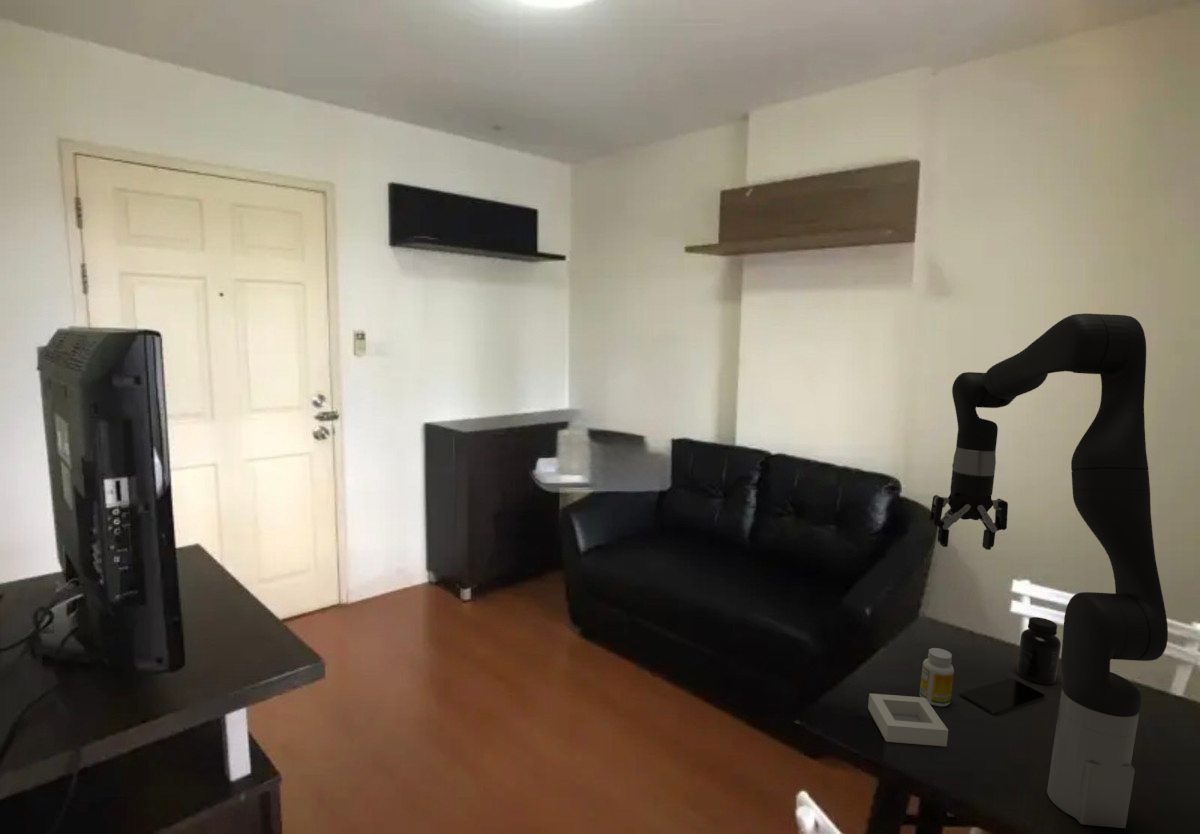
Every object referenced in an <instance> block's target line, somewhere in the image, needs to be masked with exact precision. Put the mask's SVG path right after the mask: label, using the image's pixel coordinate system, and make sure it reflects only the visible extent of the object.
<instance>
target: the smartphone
mask: <svg viewBox="0 0 1200 834" xmlns="http://www.w3.org/2000/svg"><path fill="white" fill-rule="evenodd" d="M958 694H959V697H960V698H961V699H963V700H965V701H967V702H968V703H970V704H971V705H974V706H975V707H976V708H979V709H981V710H982V711H984V712H986V713H988V714H989V715H992V716H1001V715H1003V714H1007V713H1009V712H1013V711H1016V710H1019V709H1022V708H1025V707H1027V706H1030V705H1033V704H1036V703H1039V702H1042V701H1045V700H1046V699H1047V696H1046V694H1044V693H1043V692H1040V691H1039V690H1037V689H1035V688H1033V687H1031V686H1029V685H1026V684H1025V683H1023V682H1020V681H1018V680H1017V679H1015V678H1012V677H1005V678H1002V679H1000V680H996V681H992V682H989V683H986V684H982V685H980V686H976V687H973V688H970V689H967V690H964V691H961V692H959V693H958Z"/></svg>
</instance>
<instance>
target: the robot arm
mask: <svg viewBox="0 0 1200 834" xmlns="http://www.w3.org/2000/svg"><path fill="white" fill-rule="evenodd" d="M1146 367H1147V340H1146V335H1145V331H1144V328H1143V325H1142V324H1141V323H1140V322H1139V320H1137V318H1135V317H1133V316H1131V315H1126V314H1109V313H1108V314H1104V313H1103V314H1102V313H1076V314H1071V315H1068V316H1066V317H1064V318H1062V319H1061V320H1059V321H1057V322H1056V323H1055V324H1054V325H1052V326H1051V327H1050V328H1048V329H1047V330H1046V331H1045V332H1043V334H1042V335H1040V336H1039V337H1038V338H1036V339H1035V340H1033V342H1031V343H1030V344H1029V345H1028V346H1027V347H1025V348H1024V349H1023V350H1021V351H1020V352H1018V353H1016V354H1014V355H1013V356H1010V357H1008V358H1006V359H1004V360H1002V361H999V362H997V363H996V364H994V365H992V366H991V367H989V368H988V369H987V371H986V372H974V371H972V372H971V371H968V372H967V371H964V372H962V373H960V374H959V375H958V376H957V377H956V378H955V380H954V381H953V383H952V386H951V387H952V388H951V393H952V400H953V404H954V409H955V414H956V421H957V436H956V446H955V451H954V455H953V461H952V465H951V466H952V467H951V468H952V471H951V479H950V481H951V482H950V489H949V490H950V494H949V496H948V497H943V496H939V495H938V494H934V495H933V497H932V503H931V508H930V515H929V520H928V521H929V523H931V524H932V525H934V526H936V527H937V528H938V531H937V542H938V543H939V545H940V546H941V547H943V548H947V547H948V546H949V536H950V529H949V528H950V527H952V526H953V524H954V523H956V522H958V521H959V520H960V519H961V520H962V521H963V520H964V521H965V520H973V521H979V520H980V522H981V523H982V525H984V527H985V529H983V534H982V535H983V538H982V543H981V544H982V548H983V549H985V550H986V551H990V550H991V549H992V548H994V545H995V540H996V533H997V532H998V531H1001V530H1002V531H1005V530H1007V529H1008V509H1009V503H1008V502H1007V501H1005V500H1004V499H1001V498H996V499H992V496H993V492H994V481H995V471H996V464H997V461H996V459H997V458H996V449H997V442H998V433H999V427H998V425H997V423H996V422H994V421H992V420H989V419H984V418H982V417H980V416H979V414H978V413H977V412H978V411H977V408H982V409H983V408H984V409H985V408H988V409H997V408H998V409H999V408H1003V407H1006V406H1009V405H1010V404H1011V403H1012V402H1013V401H1014V400H1015V399H1016V398H1017V397H1019V396H1021V395H1024V394H1026V393H1030V392H1032V391H1033V390H1036V389H1038V388H1039V387H1040V386H1041V385H1043V383H1044V382H1046V379H1047V377H1048V375H1049V374H1053V373H1061V372H1068V373H1069V372H1071V373H1074V374H1086V375H1087V374H1088V375H1100V380H1101V381H1100V382H1101V393H1100V394H1101V395H1100V404H1099V408H1098V411H1097V412H1096V413H1097V414H1096V415H1095V417H1094V419H1093V420H1092V422H1091V424H1090V426H1088V428H1087V430H1086V431H1085V432H1084V434H1083V435H1082V437H1081V439H1080V440H1079V442H1078V443H1077V445H1076V447H1075V449H1074V451H1073V454H1072V456H1071V457H1072V458H1071V461H1070V462H1071V463H1070V465H1071V466H1070V467H1071V468H1070V469H1071V486H1072V487H1071V488H1072V498H1073V503H1074V505H1075V508H1076V510H1077V512H1078V513H1079V515H1080V517H1081V518H1082V519H1083V521H1084V522H1085V524H1086V525H1087V527H1088V528H1089V529H1090V531H1091V532H1092V533H1093V535H1094V536H1095V537H1096V539H1097V540H1098V541H1099V543H1100V545H1101V546H1102V547H1103V550H1104V551H1105V553H1106V554H1107V556H1108V558H1109V561H1110V565H1111V568H1112V573H1113V579H1114V587H1115V589H1114V591H1115V593H1112V592H1111V593H1110V592H1096V591H1095V592H1092V591H1089V592H1088V591H1083V592H1078V593H1076V594H1074V595H1073V596H1071V598H1070V599H1069V601H1068V602H1067V604H1066V605H1067V606H1066V608H1065V612H1064V620H1063V630H1062V644H1061V655H1060V656H1061V657H1060V666H1061V673H1062V685H1061V691H1060V692H1061V693H1060V699H1059V706H1058V712H1057V713H1058V714H1057V719H1056V724H1055V725H1056V727H1055V731H1054V732H1055V733H1054V740H1053V741H1054V742H1053V746H1052V752H1051V753H1052V754H1051V755H1052V756H1051V759H1050V768H1049V769H1050V770H1049V776H1048V783H1047V788H1046V789H1047V790H1046V792H1047V796H1048V798H1049V799H1050V800H1051V802H1052V803H1053V804H1054V805H1055V806H1056V807H1057V808H1058V809H1060V811H1063V812H1064V813H1065V814H1067V815H1069V816H1071V817H1073V818H1074V819H1075V820H1077V822H1078V823H1079V824H1080V825H1084V826H1093V827H1094V826H1096V827H1106V828H1107V827H1108V828H1114V829H1115V828H1116V829H1119V828H1120V829H1126V827H1127V826H1126V825H1127V821H1128V815H1129V809H1130V803H1131V802H1130V801H1131V796H1132V791H1133V786H1134V785H1133V784H1134V777H1135V772H1136V771H1135V768H1134V766H1132V758H1133V752H1134V748H1135V747H1134V746H1135V740H1136V735H1137V729H1138V724H1139V716H1140V710H1141V704H1142V695H1141V692H1140V690H1139V689H1138V687H1137V686H1136V685H1135V684H1133V683H1132V682H1131V681H1130V680H1128V679H1126V678H1124V677H1122V676H1121V675H1119V674H1116V673H1114V672H1112V671H1111V660H1117V661H1118V660H1121V661H1135V662H1136V661H1138V662H1140V661H1141V662H1151V661H1156V660H1158V659H1159V658H1160V657H1162V656H1163V654H1164V653H1165V651H1166V649H1167V646H1168V638H1169V635H1168V633H1169V630H1168V628H1169V627H1168V626H1169V625H1168V619H1167V618H1168V617H1167V612H1166V611H1167V610H1166V607H1165V602H1164V596H1163V591H1162V590H1163V589H1162V586H1161V581H1160V576H1159V570H1158V566H1157V562H1156V561H1157V560H1156V551H1155V544H1154V543H1155V542H1154V535H1153V525H1152V524H1153V523H1152V512H1151V485H1150V484H1151V483H1150V473H1149V471H1150V470H1149V463H1148V455H1147V446H1146V428H1145V424H1146V421H1145V420H1146V419H1145V394H1146V393H1145V391H1146V369H1147V368H1146ZM947 504H948V506H949V507H950V508H948V510H947V511H946V512H945V513H944V516H943V515H942V514H943V510H944V509H943V508H946V506H947ZM992 507H993V509H994V510H995V511H994V512H995V513H994V522H993V519H992V517H991V516H990V515H989V513H988V512H989V510H990V509H992ZM942 516H943V517H942Z"/></svg>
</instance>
